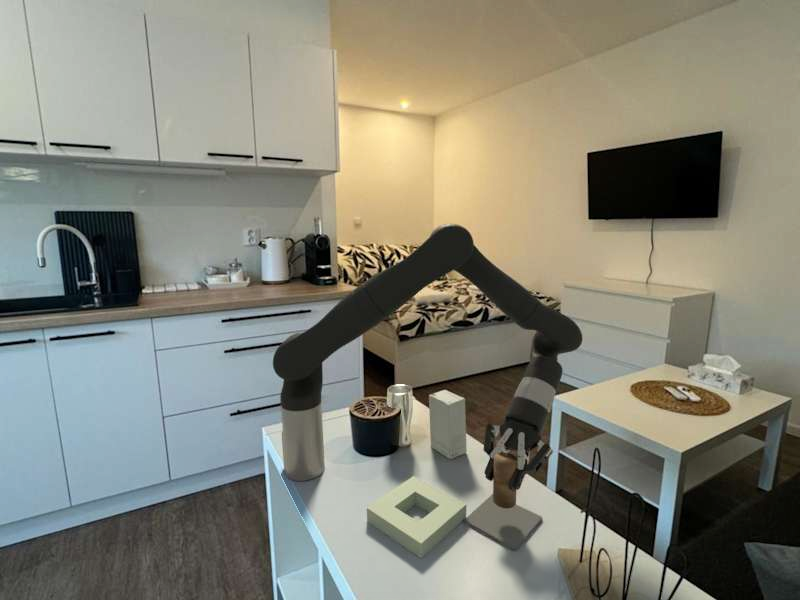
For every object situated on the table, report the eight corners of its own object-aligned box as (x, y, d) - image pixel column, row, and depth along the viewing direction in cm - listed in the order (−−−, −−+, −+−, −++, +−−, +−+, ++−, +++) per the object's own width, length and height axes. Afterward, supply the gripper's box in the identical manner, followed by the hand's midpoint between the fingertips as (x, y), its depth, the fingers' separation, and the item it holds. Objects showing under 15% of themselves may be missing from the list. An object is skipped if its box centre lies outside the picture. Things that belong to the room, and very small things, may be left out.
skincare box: (466, 453, 107) (468, 398, 104) (448, 461, 104) (449, 404, 101) (445, 439, 114) (446, 388, 111) (428, 446, 111) (428, 393, 108)
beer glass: (383, 445, 111) (382, 392, 109) (393, 433, 118) (392, 382, 115) (408, 450, 109) (407, 395, 106) (416, 437, 115) (416, 385, 113)
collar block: (367, 521, 83) (366, 507, 83) (413, 488, 93) (413, 476, 93) (421, 558, 74) (421, 543, 73) (466, 517, 84) (466, 504, 83)
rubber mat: (464, 522, 83) (464, 519, 82) (493, 495, 90) (493, 493, 90) (515, 551, 75) (515, 548, 75) (542, 519, 83) (542, 516, 83)
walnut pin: (488, 501, 82) (489, 459, 80) (500, 490, 85) (501, 450, 84) (509, 511, 79) (510, 468, 77) (520, 500, 82) (521, 458, 81)
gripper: (494, 387, 89) (460, 464, 82) (561, 406, 79) (529, 494, 73) (506, 402, 93) (475, 476, 87) (570, 422, 84) (541, 506, 77)
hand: (500, 484), depth 80 cm, fingers closed on walnut pin, 4 cm apart
